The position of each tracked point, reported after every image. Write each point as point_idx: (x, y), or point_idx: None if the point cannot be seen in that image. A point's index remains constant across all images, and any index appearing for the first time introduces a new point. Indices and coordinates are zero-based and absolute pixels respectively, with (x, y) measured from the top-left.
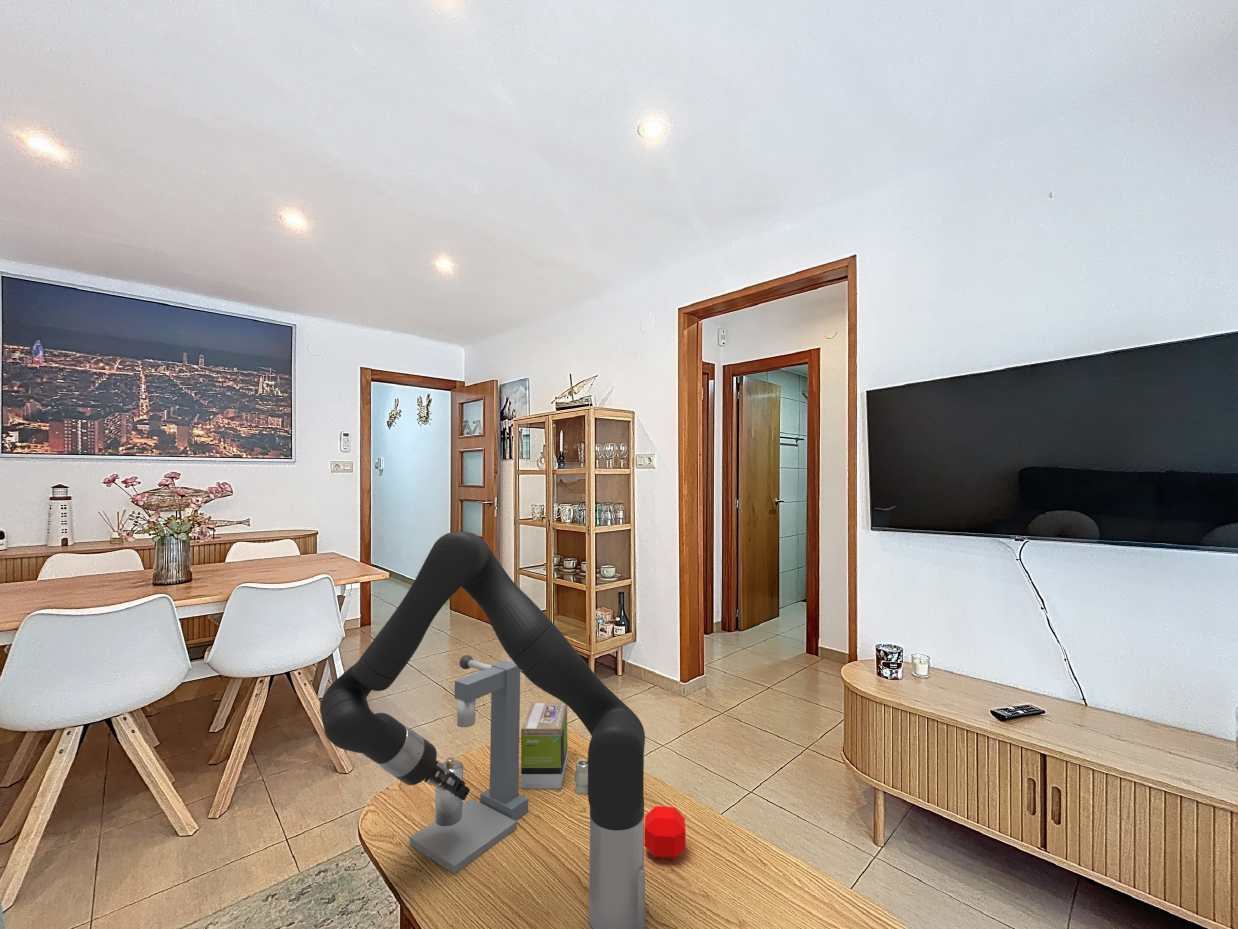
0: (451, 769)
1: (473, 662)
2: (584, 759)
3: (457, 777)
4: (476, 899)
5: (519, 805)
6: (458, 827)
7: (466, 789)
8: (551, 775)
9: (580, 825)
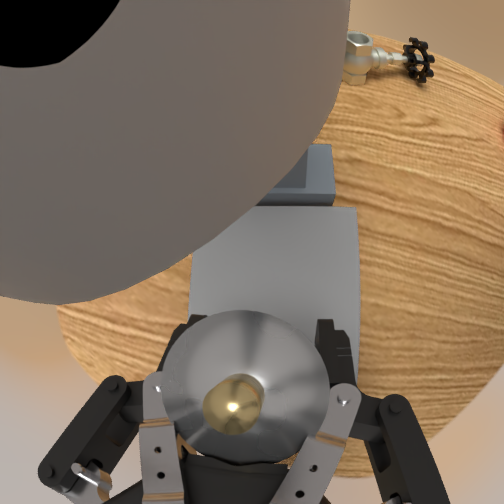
0: (274, 409)
1: None
2: (351, 32)
3: (444, 488)
4: (430, 400)
5: (333, 171)
6: (255, 305)
7: (350, 351)
8: None
9: (429, 146)
